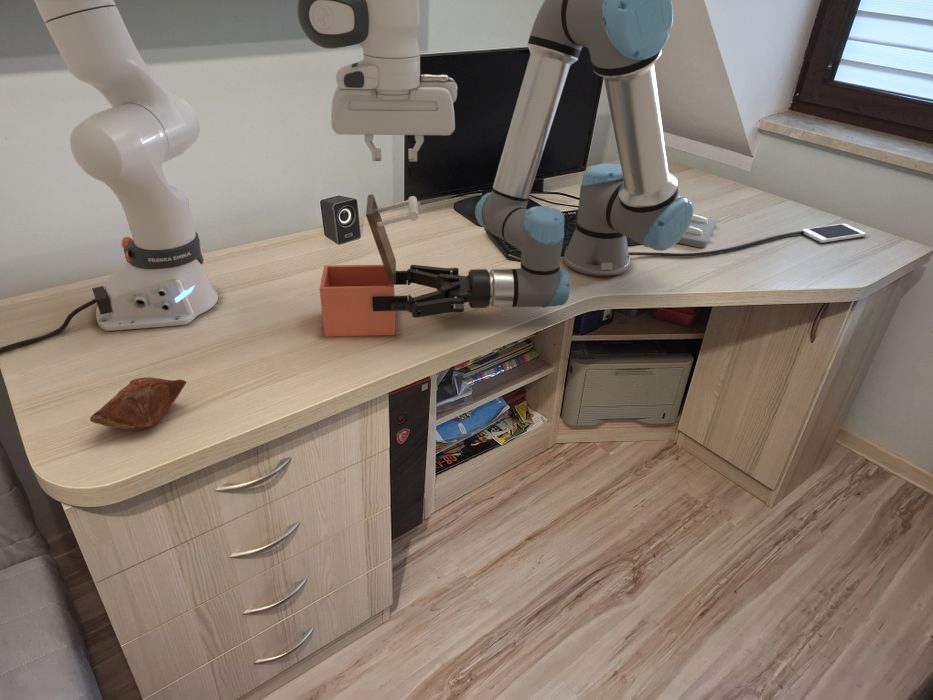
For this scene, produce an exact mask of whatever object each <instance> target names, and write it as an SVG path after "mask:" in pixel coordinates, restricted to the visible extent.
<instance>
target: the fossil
mask: <svg viewBox="0 0 933 700" xmlns="http://www.w3.org/2000/svg"><path fill="white" fill-rule="evenodd" d="M187 382H188V381H186V380H185V379H179V378H178V379H174V380H173V379H164V378H158V377H150V376H147V377H145V376H144V377H139V378H134V379H131V380H130V381H129V383H128V384H127V385H126V386H124V387H123V388H122V389H120V390H119V391H118V392H117V393H116V394H115V395H114V396H113V397H112V398H111V399H110V400H108V401H107V403H105V404H104V405H103V406H102V407H101V408H99V409H98V410H97V411H95V412H94V413H93V414H92V415H91V416H90V418H89V421H90V422H92V423H94V424H97V425H101V426H104V427H110V428H115V429H124V430H130V431H131V430H145V429H148V428H150V427H152V426H154V425H156V424H157V423H158V422H159V421H160V420H161V418H162V417H163V416H164V415H165V414H166V413H167V412H168V410H169V409H170V408H171V407H172V405H173V404H174V402H175V401H176V400H177V398H178V397H179V395H180V393H181V392H182V391H183V389H184V387H185V386H186V384H187Z"/></svg>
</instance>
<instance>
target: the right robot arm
mask: <svg viewBox="0 0 933 700" xmlns="http://www.w3.org/2000/svg"><path fill="white" fill-rule="evenodd" d="M673 22H674V6H673V1H672V0H544V1H543V3H542V4H541V6H540V8H539V10H538V12H537V14H536V17H535V19H534V22H533V25H532V28H531V31H530V33H529V38H528V41H527V45H526V46H527V48H528V50H529V58H528V60H527V65H526V69H525V73H524V75H523V79H522V82H521V85H520V89H519V90H520V91H519V93H518V97H517V100H516V104H515V107H514V111H513V114H512V117H511V122H510V126H509V129H508V132H507V136H506V138H505V143H504V146H503V149H502V153H501V156H500V160H499V164H498V167H497V171H496V175H495V177H494V182H493V184H492V189H491V192H487V193H485V194H484V195H482V196H481V198H480V199H479V201H478V202H476V206H475V209H474V213H475V214H474V215H475V218H476V222H477V223H478V224H479V225H480V226H481V227H482V228H484V230H486V231H487V232H488V233H490V234H492V235H494V236H496V237H498V238H499V239H501V240H503V241H504V242H506V243H507V244H509V245H510V246H512V247H514V248H515V249H516V250H518V251H520V267H519V268H491V269H490V270H489V271H488V270H487V269H486V268H484V269H483V268H479V269H477V268H476V269H475V268H474V269H469V271H468V272H467V273H468V274H467V275H466V276H465V275H461V274H460V273H459V267H440V266H430V265H429V266H428V265H420V264H411V265H410V266H409V268H407V269H406V270H396V284H394V286H403V285H404V286H405V285H407V286H410V285H411V284H416V285H419V286H424V287H428V288H432V289H436V290H434V291H431V292H428V293H424V294H420V295H417V296H414V297H413V296H412V295H411V294H409V295H394V296H372V303H373V311H395V312H404V311H405V312H408V313H410V314H411V316H412V318H414V319H418V318H424V317H429V316H436V315H442V314H448V313H464V312H465V303H468V306H469V307H470V309H487V308H489V306H490V307H491V308H500V309H504V308H540V307H541V308H549V307H550V308H551V307H558V306H563V305H565V304H566V303H567V301H568V300H569V296H570V285H571V283H570V281H571V280H570V275H569V271H568V270H567V269H565V268H564V267H560V265H561V258H562V250H563V244H564V239H565V220H566V219H565V215H564V213H563V212H562V211H561V210H560V209H558V208H555V207H549V206H546V205H538V206H537V205H536V206H532V207H530V208H527V206H528V203H529V200H530V195H531V192H532V189H533V186H534V183H535V179H536V176H537V173H538V171H539V170H538V169H539V167H540V163H541V160H542V157H543V153H544V150H545V148H546V144H547V141H548V139H549V135H550V131H551V128H552V125H553V122H554V119H555V116H556V113H557V109H558V106H559V103H560V99H561V97H562V93H563V89H564V87H565V83H566V80H567V77H568V74H569V71H570V68H571V66H572V64H575V63H576V62H577V61H579V57H580V54H581V51H582V49H583V48H586V49H588V52H589V57H590V62H591V68H592V71H593V73H594V74H595V75H597V76H599V77H601V78H603V80H604V81H603V82H604V87H605V90H606V91H605V92H606V95H607V101H608V106H609V107H608V108H609V112H610V118H611V122H612V128H613V133H614V137H615V144H616V148H617V149H616V150H617V153H618V159H619V163H601V164H596V165H592V166H589V167H588V168H586V169H585V170H584V172H583V175H582V180H581V184H580V190H579V199H578V207H577V215H576V223H575V224H576V225H575V230H574V232H573V233H572V236H571V239H570V241H569V244H568V245H567V246H566V248H565V251H564V255H563V262H564V263H565V265H566V266H567V267H568V268H570V269H571V270H572V271H575V272H576V273H579V274H582V275H586V276H591V277H601V278H602V277H607V278H608V277H615V276H618V275H621V274H623V273H625V272H626V271H627V270H628V269H629V265H630V259H631V258H630V256H656V257H657V256H659V257H697V256H706V255H713V254H720V253H724V252H725V253H726V252H729V251H735V250H739V249H743V248H747V247H750V246H754V245H757V244H758V245H759V244H761V243H766V242H769V241H771V240H776V239H779V238H780V239H781V238H784V237H789V236H796V235H802V234H803V233H804V231H802V230H799V231H793V232H787V233H782V234H778V235H774V236H770V237H765V238H763V239H759V240H755V241H752V242H748V243H744V244H740V245H735V246H732V247H731V246H730V247H727V248H722V249H716V250H715V249H714V250H709V251H702V252H690V253H689V252H685V253H684V252H683V253H682V252H679V253H677V252H675V253H673V252H662V251H666V250H669V249H671V248H672V247H674V246H675V245H676V244H678V243H677V242H678V241H679V240H680V239H681V238H682V237H683V235H684V234H685V233H686V231H687V229H688V228H689V226H690V223H691V221H692V217H693V215H694V205H693V202H691V201H690V200H689V199H688V198H687V197H682V196H681V195H680V191H679V183H678V179H677V177H676V176H675V174H673V173H672V172H670V171H669V167H668V160H667V153H666V146H665V139H664V137H665V136H664V130H663V123H662V115H661V108H660V100H659V92H658V85H657V78H656V77H657V76H656V69H655V64H656V62H657V61H658V60H659V58H660V57H661V55H662V51H663V50H662V49H663V48H664V46H665V45H666V43H667V41H668V40H669V37H670V32H669V29H671V28H672V27H673ZM803 235H804V234H803ZM627 238H628V239H631V240H632V241H634V242H636V243H638V244H639V245H642V246H643V247H645V248H649V249H652V250H654V251H657V252H648V251H647V252H644V251H643V252H639V251H636V252H635V251H629V245H628V240H627Z"/></svg>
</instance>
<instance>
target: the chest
mask: <svg viewBox="0 0 933 700" xmlns="http://www.w3.org/2000/svg"><path fill="white" fill-rule="evenodd" d="M372 296H395V285H394V284H393V285H390V282H389V279H388V276H387V273H386V271H385V268H384V265H383V264H334V265H333V264H329V265H328V264H327V265H326V264H325V265H323V270H322V275H321V280H320V284H319V297H320V307H321V316H322V326H323V336H324V337H326V338H327V337H367V336H368V337H372V336H373V337H374V336H396V311H373V303H372Z"/></svg>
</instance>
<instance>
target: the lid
mask: <svg viewBox="0 0 933 700" xmlns="http://www.w3.org/2000/svg"><path fill="white" fill-rule="evenodd" d="M406 206H408V208H407V209H408V213H407V214H404V215H400V216H396V217H392V218H387V219H384V220H383V218H382V216H381V213H384V212H387V211H391V210H395V209H399V208H402V207H403V208H404V207H406ZM365 210H366V211H365V216H366V219H367V223H368V226H369V229H370V232H371V234H372V237H373V239H374V242H375V245H376V248H377V251H378V254H379V256H380V257H379V258H380V259H381V262H382V265H384V268H385V271H386V273H387V276H388V279H389V282H390V285H393V284H396V271H397V259H396V256H395V253H394V250H393V249H392V246H391V245H392V244H391V241H390V239H389V237H388V234H387V230H386V227H385V226H388V225H391V224H396V223H399V222H403V221H407V220H410V221H413V222H414V221H417V220H418V219H419V217H420V216H419V205H418V198H417V196H414V195H411V196H409V197H408V199H407V200H403V201H400V202H396V203H395V202H394V203H392V204H388V205H384V206H381V207H378V204H377V201H376V198H375V195H374V193H371V194H368V195H367V199H366V209H365Z"/></svg>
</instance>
